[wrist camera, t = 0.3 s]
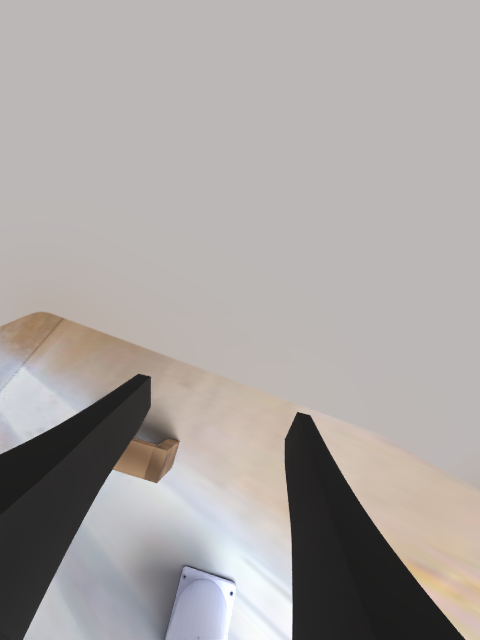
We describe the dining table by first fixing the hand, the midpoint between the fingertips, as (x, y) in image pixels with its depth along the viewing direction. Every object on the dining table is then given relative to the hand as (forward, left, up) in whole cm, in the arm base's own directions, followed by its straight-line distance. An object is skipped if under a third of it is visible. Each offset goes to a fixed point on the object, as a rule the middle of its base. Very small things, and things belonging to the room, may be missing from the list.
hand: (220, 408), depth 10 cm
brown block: (-11, +13, -30) cm, 35 cm away
